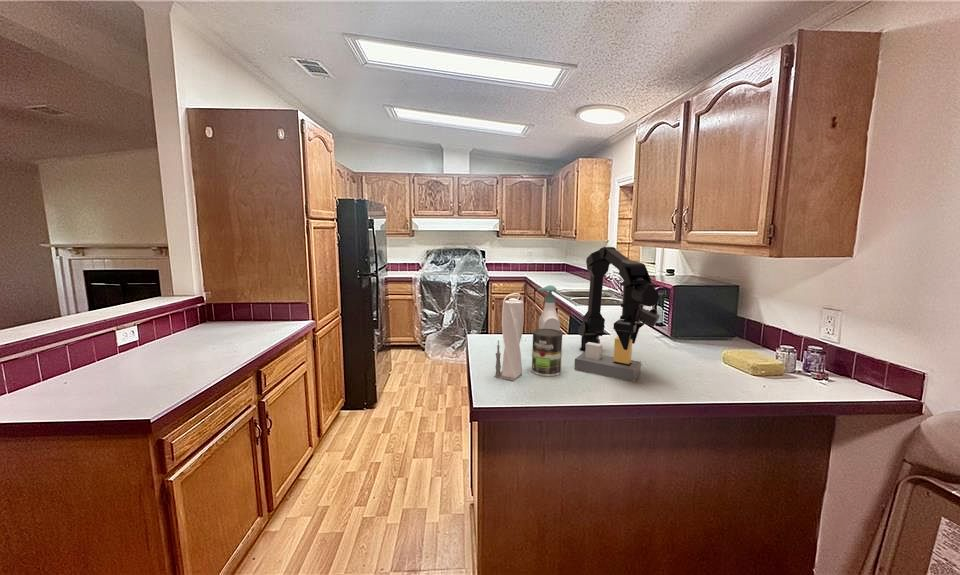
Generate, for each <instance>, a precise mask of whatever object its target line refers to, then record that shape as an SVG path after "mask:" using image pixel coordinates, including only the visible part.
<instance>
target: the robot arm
mask: <svg viewBox="0 0 960 575" xmlns="http://www.w3.org/2000/svg"><path fill="white" fill-rule="evenodd" d="M585 262H586V263H585V264H586V270H587V273H588V274H589V276H590V279H589V292H588V303H587V304H588V306H587V311H586V313H585V314H584V315H583V317H582V322H581V324H580V325H579V327H578V328H577V332H578V335H579V336H581V341H580V342H581V344H580V348H579V351H583V352H585V349H586V343H588V342H592V343H598V344H601V339H599V338H600V337H603V335H604V332H605V328H606V325H605V323H606V322H605V321H606V319H605V317H604V316H603V315H602V313H601V309H602V296H603V286H604V277H605V276H606V274H607V273H608V272H609V269H610V265H612V266H614V267H615V268H616V269H617V270H618V275H619V276H620V277H621V279H622V280H623V281H622V282H621V283H620V286H622V288H623V289H622V303H620V307H621V310H622V311H621V312H622V313H621V315H620V317H619V319H618V320H616V321H615V322H614V323H613V330H614V332H616V335H617V337H619V339H620V342H621V344H622V346H623V349H624V350H627V349H628V346H629V341H630V339H632V345H633V344H635V343H636V340H637V337H638V333H639V330H640V329H641V327H643V326H644V325H645V324H647V325H648V326H650V327H654V326H656V324H657V323H658V321H659V319H660V317H661V316H660V314H658V312H659V311H658V309H656V308H651V309H650V310H649V309H646V308H644V306H645V307H653V306H655V305H656V304H657V303H658V302H659V299H660V294H659V292H658V290H657V289H655V288H654V287H655V284H654V283H652V278H651V276H650V275H649V274H650V273H649V272H648V269H647V266H646V264H644V263H643V262H640V261H637V260H631V259H629V258H628V257H627V256H625V255H624V254H622V253H621V252H620V251H618V250H617V249H616V247H614V246H603V247H601V248H599V249H598V250H597V251H594V252H591V253H590V254H589V255H588V256H587V257H586V261H585Z"/></svg>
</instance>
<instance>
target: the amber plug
mask: <svg viewBox="0 0 960 575" xmlns="http://www.w3.org/2000/svg"><path fill="white" fill-rule="evenodd" d="M613 350H614V352H613V357H614V361H615V362H620V363H625V364H629V363H630V362H631V360H632V353H633V352H632V351H633V343H632V339H630V341H629V346H628V349H627V350H624V349H623V346H622V344H621V342H620V339H619V337H618V336H616V337H615V338H614V349H613Z"/></svg>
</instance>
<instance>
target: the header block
mask: <svg viewBox="0 0 960 575" xmlns="http://www.w3.org/2000/svg"><path fill="white" fill-rule="evenodd" d="M641 366H642V362H641V361H639V360H632V359H631V362H630V363H629V364H625V363H620V362H615V361H614V356H610V355H605V354H602V359H601V360H600V361H599V360H594V359H589V358H585V351H583V352H582V353H581V354H579V355H578V356H576V357H575V358H574V370H575V371H580V372H583V373H589V374H593V375H597V376H603V377H606V378H607V377H609V378H611V379H617V380H622V381H627V382H632V383H634V382H635V381H636V379H637V378H638V377H639V376H640V375H641V368H642V367H641Z"/></svg>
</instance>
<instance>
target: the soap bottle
mask: <svg viewBox="0 0 960 575" xmlns="http://www.w3.org/2000/svg"><path fill="white" fill-rule="evenodd" d="M537 290H538V291H540V292H541V291H542V292H548V294H547V295H545V297H544V306H543V307H544V308H543V309H542V312H541V315H540V316H539V319H538V329H554V330H559V331H561V323H560V319H559V316H558V313H557V310H556V297H555V295H552V294H553V293H552V292H557V290H558V289H557V287H556V286H554V285H547V286H544V287H541V288H540V287H539V288H537Z"/></svg>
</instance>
